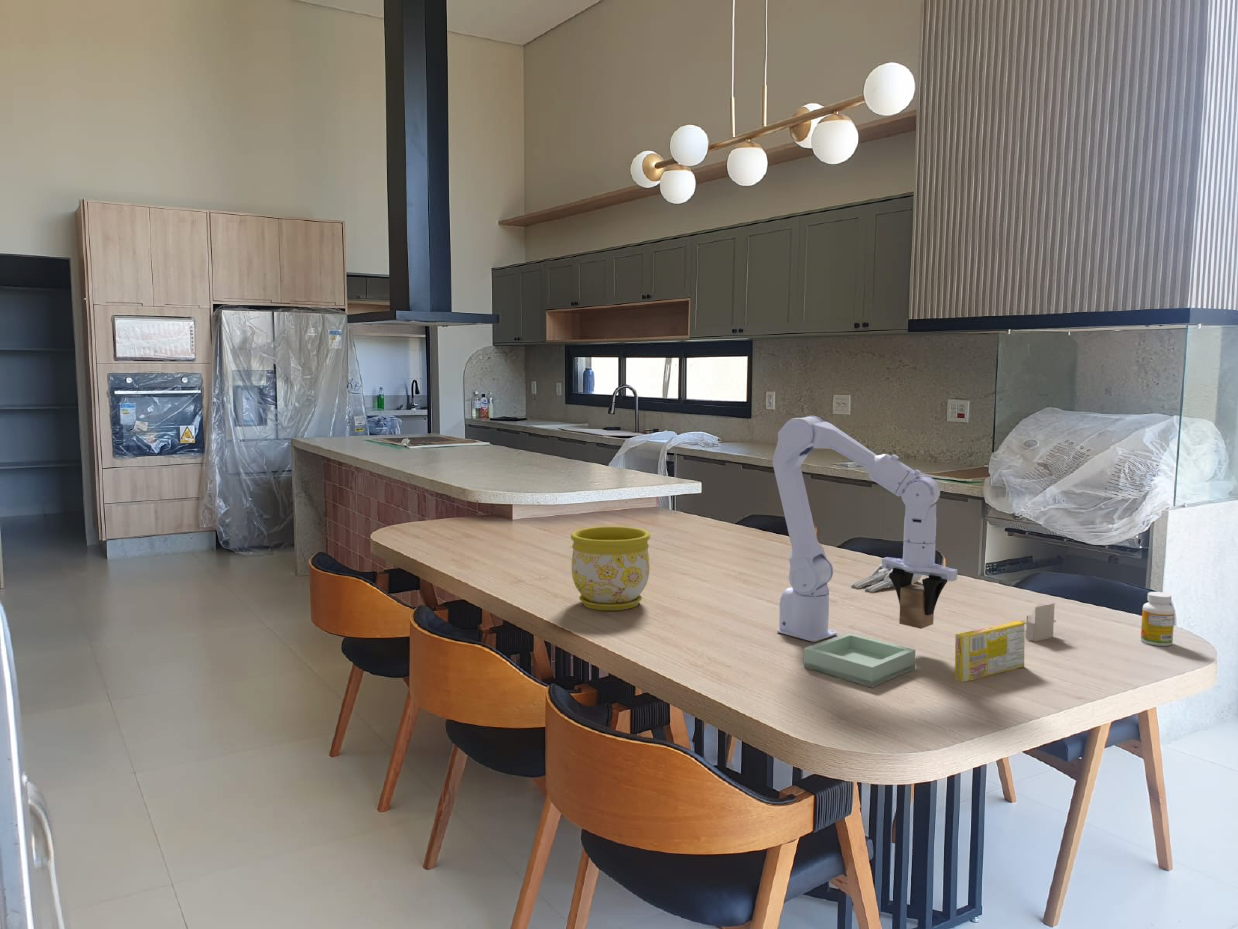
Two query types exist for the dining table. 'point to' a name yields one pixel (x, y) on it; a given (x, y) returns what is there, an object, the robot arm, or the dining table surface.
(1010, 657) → the candy box
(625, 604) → the flowerpot
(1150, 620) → the supplement bottle
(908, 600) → the walnut block
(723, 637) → the dining table surface
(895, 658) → the bin
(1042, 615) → the architectural model
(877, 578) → the turret
